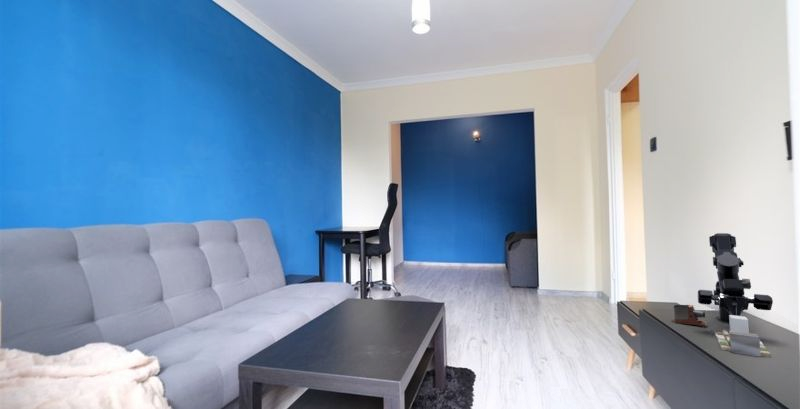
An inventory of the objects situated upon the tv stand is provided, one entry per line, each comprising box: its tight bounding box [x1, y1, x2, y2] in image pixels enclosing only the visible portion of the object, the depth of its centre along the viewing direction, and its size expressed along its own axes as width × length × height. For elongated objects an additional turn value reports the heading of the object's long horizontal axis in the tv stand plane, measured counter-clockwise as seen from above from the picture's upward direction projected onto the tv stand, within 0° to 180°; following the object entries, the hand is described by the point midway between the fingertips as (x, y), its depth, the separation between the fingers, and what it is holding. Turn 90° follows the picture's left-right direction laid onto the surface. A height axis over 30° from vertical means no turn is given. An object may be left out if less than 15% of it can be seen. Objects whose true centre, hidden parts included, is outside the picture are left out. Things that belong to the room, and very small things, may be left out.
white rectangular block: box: [717, 315, 750, 336], centre depth 113 cm, size 4×8×8 cm, turn 52°
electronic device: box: [673, 304, 708, 328], centre depth 133 cm, size 4×10×8 cm, turn 44°
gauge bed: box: [714, 328, 772, 358], centre depth 112 cm, size 17×11×6 cm, turn 142°
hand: (737, 320), depth 114 cm, fingers closed, pressing on white rectangular block
